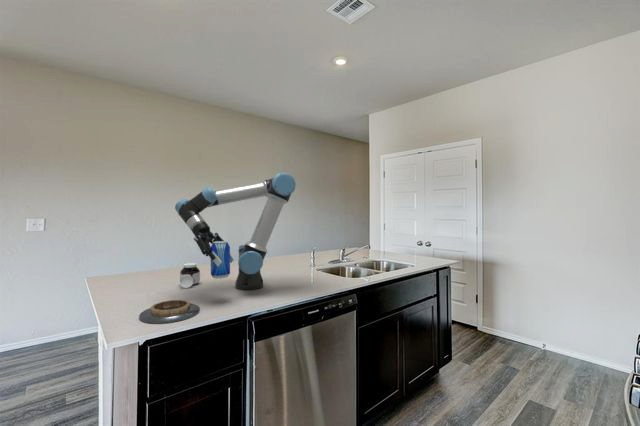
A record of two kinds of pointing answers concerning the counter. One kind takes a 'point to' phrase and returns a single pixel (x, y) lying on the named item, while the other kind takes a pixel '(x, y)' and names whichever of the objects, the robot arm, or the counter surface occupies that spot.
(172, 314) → the collar plate
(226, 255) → the beer can
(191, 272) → the spread jar
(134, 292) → the counter surface
